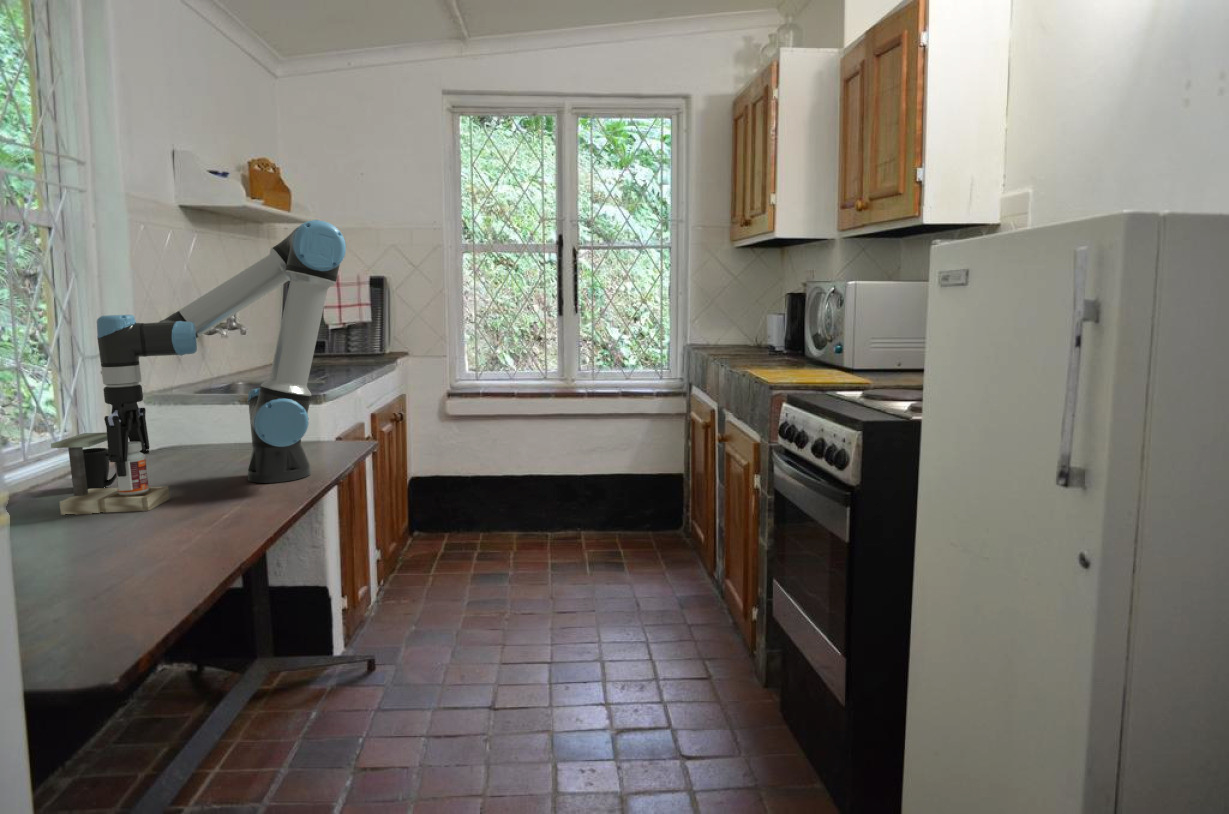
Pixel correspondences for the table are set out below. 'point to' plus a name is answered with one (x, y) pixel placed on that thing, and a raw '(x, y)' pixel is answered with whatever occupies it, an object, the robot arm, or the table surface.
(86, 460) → the mug
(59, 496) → the table surface
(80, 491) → the socket block
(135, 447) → the pill bottle
